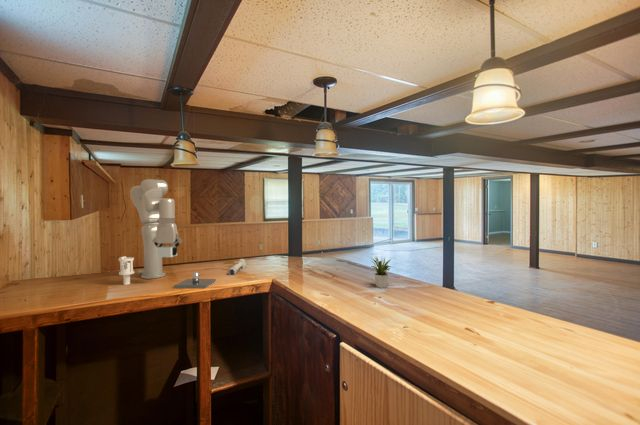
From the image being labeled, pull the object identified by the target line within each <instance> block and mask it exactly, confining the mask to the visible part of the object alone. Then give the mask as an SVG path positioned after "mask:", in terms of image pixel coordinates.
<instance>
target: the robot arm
mask: <svg viewBox="0 0 640 425" xmlns="http://www.w3.org/2000/svg"><path fill="white" fill-rule="evenodd" d="M168 190H169V186H168V182H167V181H165V180H164V179H154V178H153V179H151V178H150V179H149V178H146V179H144V180H142V181H141V183H140V185H134V186H132V187H131V189H130V191H129V192H130V193H129V194H130V195H129V196H130V199H131V202H132V204H133V205H134V207H135V208H136V210H137V213H138V216H139V218H140V222H141V223H142V225H143V226H142V227H141V235H142V236H141V237H142V239H143V240H142V241H143V242H142V243H143V269H138V272H137V273H138V274H141V276H140V278H141V279H144V280H146V279H147V280H150V279H152V280H153V279H160V278H163V277H166V272H163V257H158V255H157V248H159V247H163V244H171V246H173V255H176V254H177V255H178V247H179V246H180V244H181V243H182V242H183V241H184V240H183V238H181V237H179V232H178V227H177V226H178V225H177V224H176V214H175V213H176V209H175V207H176V203H175V199H174V198H171V197H170V198H166V197H165V198H164V196H165V195H166V194H167V192H168Z"/></svg>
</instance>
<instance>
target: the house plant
mask: <svg viewBox="0 0 640 425" xmlns="http://www.w3.org/2000/svg"><path fill="white" fill-rule="evenodd" d="M383 256H384V254H382V256H381V260H379V259H378V257H377V256H374V258H372V260H373V261H372V260H371V262H372V263H373V265H371V267H370V268H372V269H373V270H372V271H376V273H374V281H375V286H376V288H381V289H383V288H385V289H386V288H387V286H388V281H389V276H390V275H389V273H387V271H388V272H390V269H391V268H392V265H388V264H389V263H390V261H391V260H392V259H393V257H391V258H390V259H388V260H387V261H386V256H384V257H383ZM367 257H369V258H370V255H369V256H367Z"/></svg>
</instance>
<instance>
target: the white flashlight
mask: <svg viewBox="0 0 640 425" xmlns="http://www.w3.org/2000/svg"><path fill="white" fill-rule="evenodd" d="M238 260H239V261H238V262H237V263H235V264H234V265H232V266H231V267H230V268H229V270H228V271H227V273H228V275H229V276H234V275H235V274H236V273H238V271H239V269H240V270H242V269H243V270H244V269H246V268H247V263H246V260H245V259H244V258H240V259H238Z"/></svg>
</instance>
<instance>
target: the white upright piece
mask: <svg viewBox="0 0 640 425" xmlns="http://www.w3.org/2000/svg"><path fill="white" fill-rule="evenodd" d="M134 260H135V257H133V256H128V257H127V256H126V255H125V256H120V257H119V258H118V262H119V264H120V265H119V267H120V270H119V271H118V276H123V277H122V278H123V285H124V286H125V285H126V286H127V285H131V275H134V274H135V270H134V266H133V265H134V264H133V263H134Z"/></svg>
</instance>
